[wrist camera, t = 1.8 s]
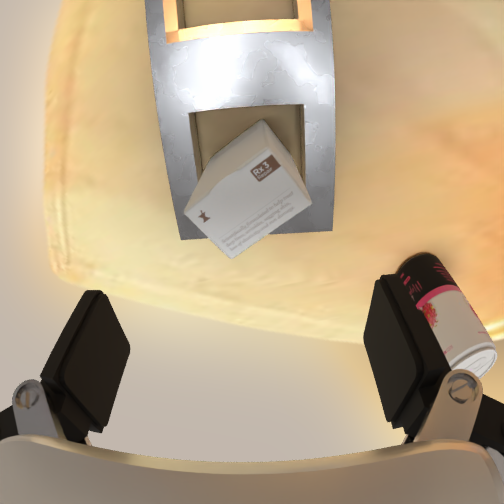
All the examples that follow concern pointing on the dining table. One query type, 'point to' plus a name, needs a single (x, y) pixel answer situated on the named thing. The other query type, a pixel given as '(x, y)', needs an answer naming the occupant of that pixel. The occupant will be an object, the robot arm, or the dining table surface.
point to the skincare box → (247, 191)
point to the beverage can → (449, 315)
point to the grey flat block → (245, 93)
